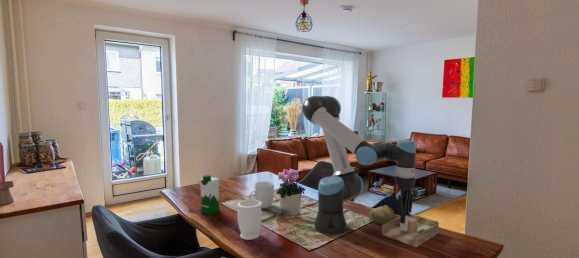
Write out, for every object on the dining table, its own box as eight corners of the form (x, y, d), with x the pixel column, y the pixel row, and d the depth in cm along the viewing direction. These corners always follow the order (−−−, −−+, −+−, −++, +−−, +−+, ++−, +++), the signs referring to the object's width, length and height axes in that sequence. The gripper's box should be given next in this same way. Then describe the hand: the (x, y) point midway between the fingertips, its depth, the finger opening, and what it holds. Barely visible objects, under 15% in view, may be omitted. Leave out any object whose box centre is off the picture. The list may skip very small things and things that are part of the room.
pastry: (402, 223, 150) (403, 207, 149) (385, 228, 144) (385, 212, 143) (380, 214, 162) (381, 199, 161) (363, 218, 156) (363, 203, 155)
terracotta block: (400, 230, 136) (401, 219, 135) (406, 227, 139) (407, 216, 139) (411, 233, 132) (411, 222, 132) (417, 230, 135) (417, 219, 135)
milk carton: (198, 213, 163) (197, 176, 161) (209, 207, 171) (208, 172, 169) (211, 215, 159) (210, 178, 157) (222, 210, 167) (221, 174, 166)
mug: (253, 212, 164) (253, 188, 163) (245, 206, 173) (244, 183, 172) (277, 207, 172) (277, 184, 170) (268, 202, 181) (268, 180, 180)
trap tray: (381, 234, 137) (382, 222, 137) (405, 222, 150) (405, 212, 150) (416, 247, 125) (416, 234, 125) (438, 233, 138) (438, 221, 137)
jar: (239, 242, 129) (238, 208, 128) (236, 232, 139) (236, 200, 138) (264, 239, 132) (263, 205, 131) (259, 229, 142) (259, 198, 141)
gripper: (405, 180, 124) (403, 236, 126) (421, 175, 132) (419, 228, 134) (389, 177, 130) (387, 230, 132) (405, 172, 138) (403, 223, 140)
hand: (403, 229), depth 133 cm, fingers closed
